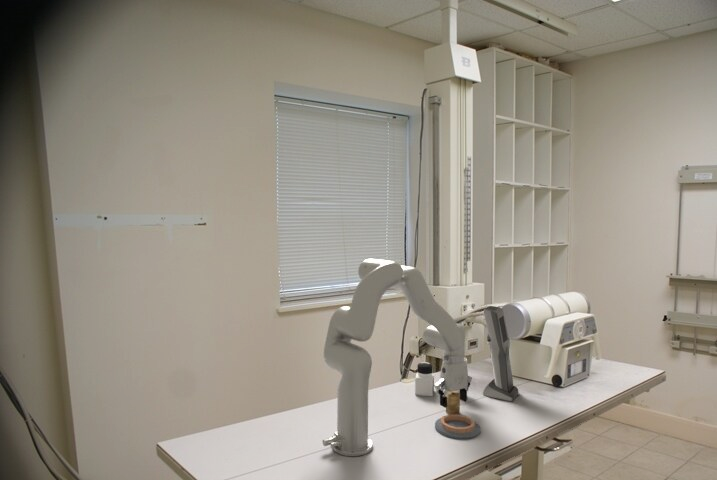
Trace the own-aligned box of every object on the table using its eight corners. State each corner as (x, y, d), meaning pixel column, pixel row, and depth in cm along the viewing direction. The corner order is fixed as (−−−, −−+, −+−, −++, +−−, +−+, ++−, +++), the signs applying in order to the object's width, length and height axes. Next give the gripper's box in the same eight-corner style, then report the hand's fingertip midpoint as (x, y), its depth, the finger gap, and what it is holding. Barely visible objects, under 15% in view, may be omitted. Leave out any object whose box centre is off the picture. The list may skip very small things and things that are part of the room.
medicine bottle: (433, 396, 183) (433, 367, 182) (415, 395, 184) (415, 365, 184) (433, 390, 190) (434, 361, 189) (416, 388, 191) (416, 360, 190)
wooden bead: (452, 416, 165) (452, 396, 164) (443, 411, 169) (443, 392, 169) (462, 413, 167) (462, 394, 167) (453, 408, 172) (453, 389, 171)
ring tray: (456, 443, 144) (456, 435, 144) (425, 424, 157) (425, 417, 157) (489, 432, 152) (490, 425, 152) (458, 415, 165) (458, 408, 165)
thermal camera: (488, 386, 194) (489, 305, 193) (519, 392, 188) (521, 308, 186) (480, 395, 184) (481, 309, 183) (512, 402, 178) (514, 313, 176)
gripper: (442, 364, 160) (442, 412, 160) (478, 356, 169) (477, 402, 169) (428, 358, 166) (428, 404, 167) (464, 351, 175) (463, 395, 176)
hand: (453, 403), depth 168 cm, fingers open, 9 cm apart
